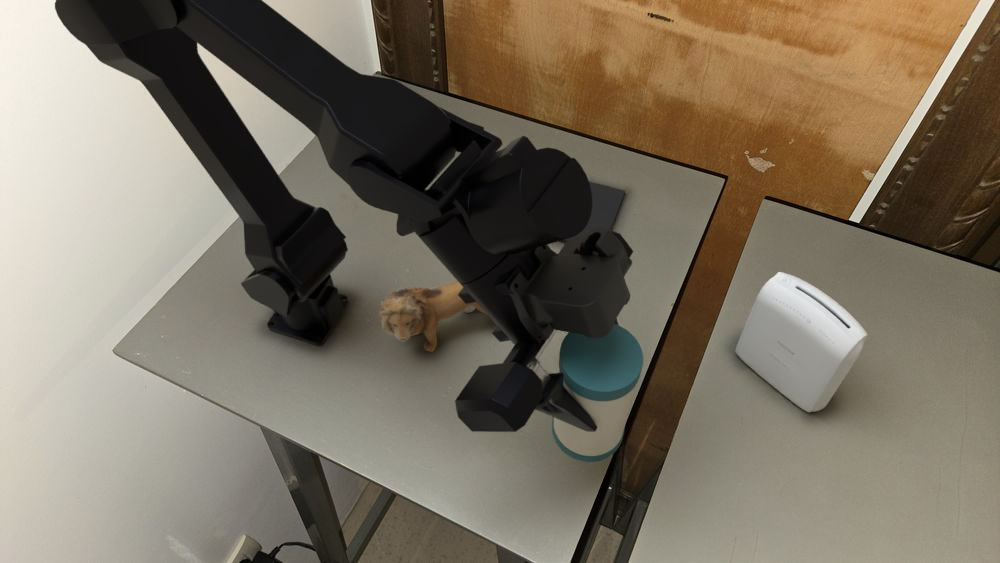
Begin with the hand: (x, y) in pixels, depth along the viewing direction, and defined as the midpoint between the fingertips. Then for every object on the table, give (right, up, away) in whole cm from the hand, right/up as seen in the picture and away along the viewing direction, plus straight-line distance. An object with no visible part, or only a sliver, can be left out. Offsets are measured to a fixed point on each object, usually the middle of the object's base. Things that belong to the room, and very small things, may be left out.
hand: (610, 399), depth 60 cm
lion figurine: (-14, +4, +19) cm, 24 cm away
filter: (-1, -3, +6) cm, 7 cm away
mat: (0, +18, +29) cm, 34 cm away
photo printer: (+19, 0, +16) cm, 25 cm away
